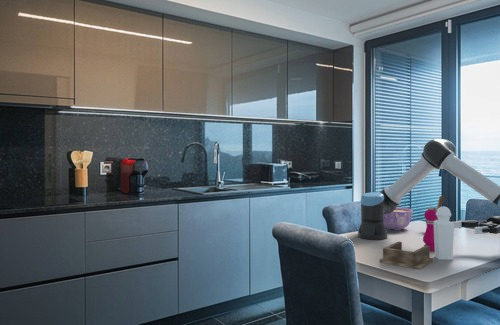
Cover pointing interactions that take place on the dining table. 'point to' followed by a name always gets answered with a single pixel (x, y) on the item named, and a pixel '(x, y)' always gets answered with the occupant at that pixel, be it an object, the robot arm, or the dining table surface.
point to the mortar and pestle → (439, 203)
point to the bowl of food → (398, 218)
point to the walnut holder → (406, 256)
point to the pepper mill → (430, 228)
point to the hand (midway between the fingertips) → (461, 227)
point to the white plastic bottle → (443, 234)
